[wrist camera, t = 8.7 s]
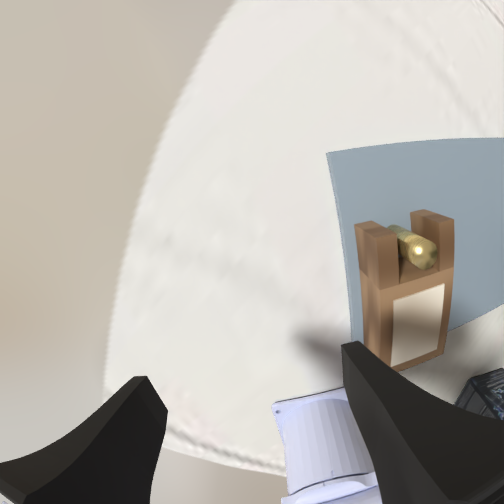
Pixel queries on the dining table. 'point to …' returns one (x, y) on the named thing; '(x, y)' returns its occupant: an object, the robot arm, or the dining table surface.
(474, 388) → the box
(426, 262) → the peg
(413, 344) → the wooden holder
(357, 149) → the board
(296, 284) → the dining table surface
